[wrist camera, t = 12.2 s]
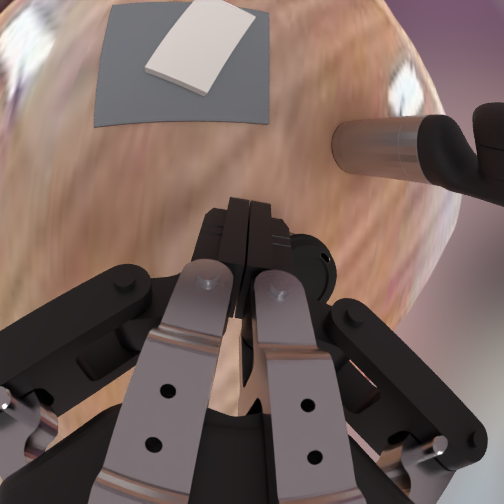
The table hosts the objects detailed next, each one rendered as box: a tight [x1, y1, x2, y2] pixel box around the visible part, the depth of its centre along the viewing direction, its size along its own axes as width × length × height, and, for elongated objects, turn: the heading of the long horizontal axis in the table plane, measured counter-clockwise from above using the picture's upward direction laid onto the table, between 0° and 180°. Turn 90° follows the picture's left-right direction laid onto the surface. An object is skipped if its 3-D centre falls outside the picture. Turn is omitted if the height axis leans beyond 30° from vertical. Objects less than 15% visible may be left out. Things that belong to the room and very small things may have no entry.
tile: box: [145, 0, 256, 97], centre depth 28 cm, size 2×9×15 cm
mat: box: [94, 2, 269, 128], centre depth 29 cm, size 24×20×1 cm
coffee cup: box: [290, 233, 337, 304], centre depth 34 cm, size 10×10×15 cm
